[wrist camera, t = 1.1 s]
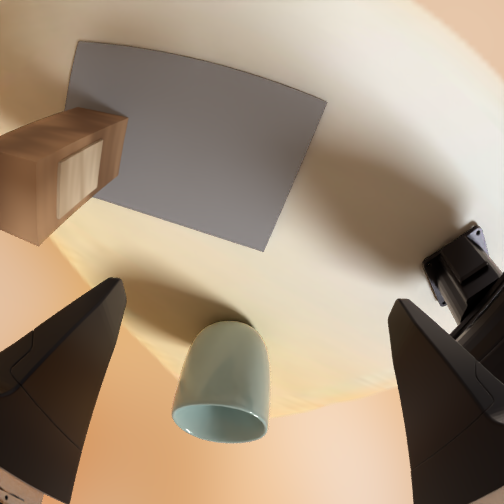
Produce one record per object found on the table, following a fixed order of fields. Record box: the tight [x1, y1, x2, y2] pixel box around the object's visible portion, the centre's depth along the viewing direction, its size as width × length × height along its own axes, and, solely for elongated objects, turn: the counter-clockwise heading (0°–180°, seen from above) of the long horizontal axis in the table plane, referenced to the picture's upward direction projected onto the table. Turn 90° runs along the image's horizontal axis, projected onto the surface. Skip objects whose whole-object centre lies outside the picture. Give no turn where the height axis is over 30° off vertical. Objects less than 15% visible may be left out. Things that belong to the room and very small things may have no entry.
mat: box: [65, 41, 327, 252], centre depth 20 cm, size 18×12×1 cm, turn 71°
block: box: [0, 107, 129, 246], centre depth 16 cm, size 5×4×10 cm
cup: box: [172, 321, 271, 443], centre depth 26 cm, size 8×8×10 cm
